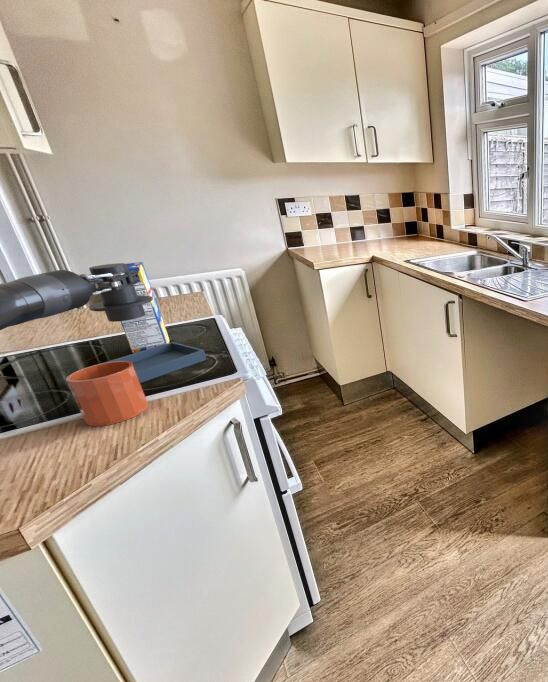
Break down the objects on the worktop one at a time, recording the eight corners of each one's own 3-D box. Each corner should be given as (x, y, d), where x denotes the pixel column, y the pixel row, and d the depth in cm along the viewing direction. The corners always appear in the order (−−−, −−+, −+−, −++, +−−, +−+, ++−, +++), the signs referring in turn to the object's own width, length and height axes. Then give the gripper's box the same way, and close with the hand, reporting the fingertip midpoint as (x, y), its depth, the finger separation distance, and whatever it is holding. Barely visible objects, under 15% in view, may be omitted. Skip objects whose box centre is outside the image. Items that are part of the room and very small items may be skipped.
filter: (109, 327, 88) (87, 272, 84) (86, 321, 92) (64, 269, 88) (166, 313, 96) (149, 262, 92) (143, 308, 101) (125, 260, 97)
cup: (99, 430, 75) (79, 385, 71) (77, 419, 78) (57, 376, 75) (158, 407, 82) (142, 365, 79) (134, 398, 86) (118, 357, 83)
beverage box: (134, 358, 106) (101, 272, 98) (138, 345, 115) (107, 265, 107) (168, 351, 110) (138, 267, 102) (169, 340, 118) (142, 261, 110)
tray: (110, 393, 88) (106, 382, 87) (80, 381, 94) (76, 370, 93) (207, 359, 104) (204, 349, 103) (175, 351, 110) (172, 341, 109)
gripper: (79, 272, 77) (149, 257, 92) (-3, 276, 76) (81, 260, 92) (95, 312, 79) (160, 290, 95) (16, 315, 79) (94, 293, 95)
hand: (121, 275), depth 93 cm, fingers closed on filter, 6 cm apart
